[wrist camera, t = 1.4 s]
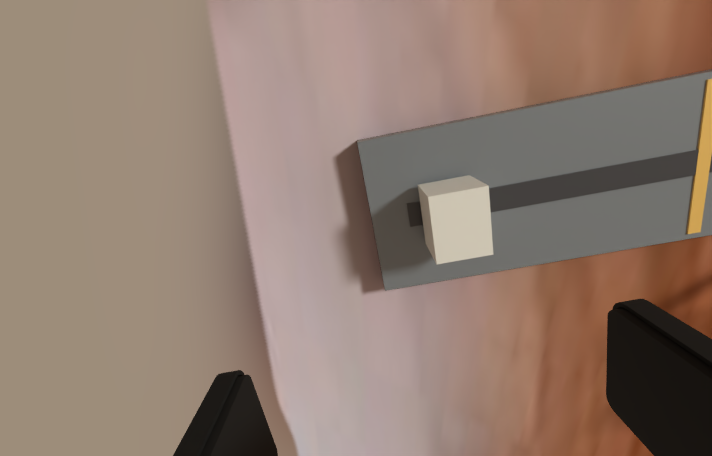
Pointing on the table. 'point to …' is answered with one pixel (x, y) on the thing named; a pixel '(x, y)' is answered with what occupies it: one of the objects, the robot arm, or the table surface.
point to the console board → (552, 178)
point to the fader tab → (456, 219)
